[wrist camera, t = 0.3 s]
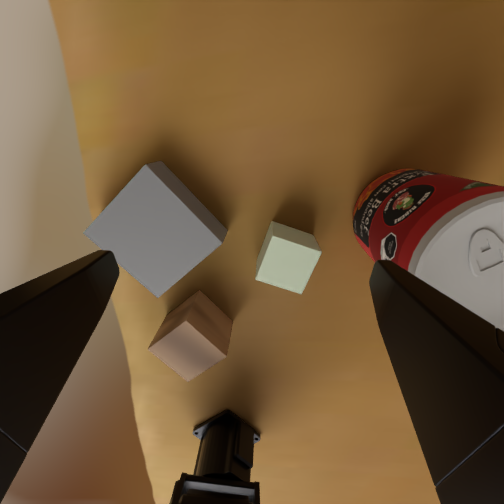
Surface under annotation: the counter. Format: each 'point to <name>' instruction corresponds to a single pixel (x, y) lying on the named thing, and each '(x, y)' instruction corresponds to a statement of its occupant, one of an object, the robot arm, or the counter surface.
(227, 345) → the walnut cube
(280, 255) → the sage block
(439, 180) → the canned food
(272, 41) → the counter surface
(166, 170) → the grey square block
